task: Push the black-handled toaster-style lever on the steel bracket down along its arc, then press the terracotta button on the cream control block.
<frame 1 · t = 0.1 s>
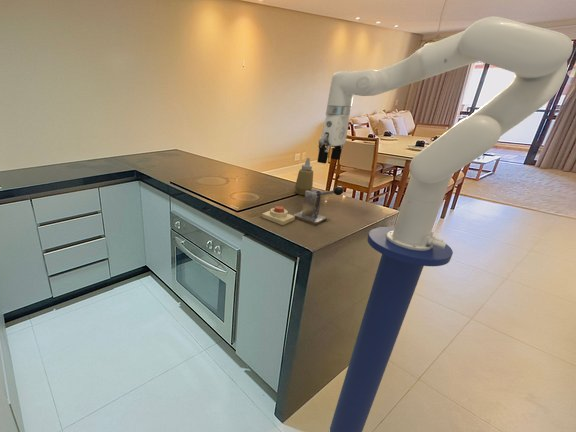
hand: (328, 160, 108), 24 cm above the counter, tool pointing down, fingers open, 9 cm apart
button: (279, 209, 117), point 4 cm above the counter, slide at 0.1 cm
control block: (277, 218, 119), on the counter
bracket: (309, 218, 119), on the counter
squeeze bottle: (302, 194, 148), on the counter
lever: (325, 193, 111), point 12 cm above the counter, hinge at 25.0°
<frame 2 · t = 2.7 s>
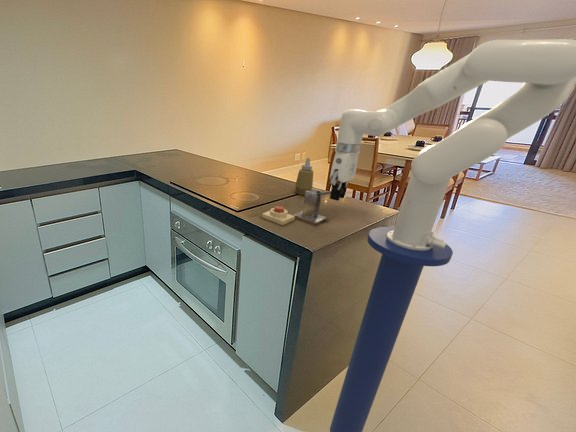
hand: (336, 197, 108), 11 cm above the counter, tool pointing down, fingers closed on lever, 3 cm apart
lever: (325, 193, 111), point 12 cm above the counter, hinge at 25.0°, touching gripper
everything else where it was.
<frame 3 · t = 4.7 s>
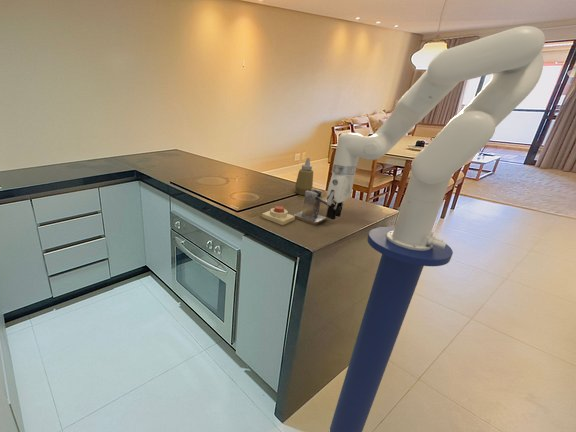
hand: (333, 216, 111), 4 cm above the counter, tool pointing down, fingers closed on lever, 3 cm apart
lever: (324, 202, 112), point 9 cm above the counter, hinge at -16.5°, touching gripper
everything else where it was.
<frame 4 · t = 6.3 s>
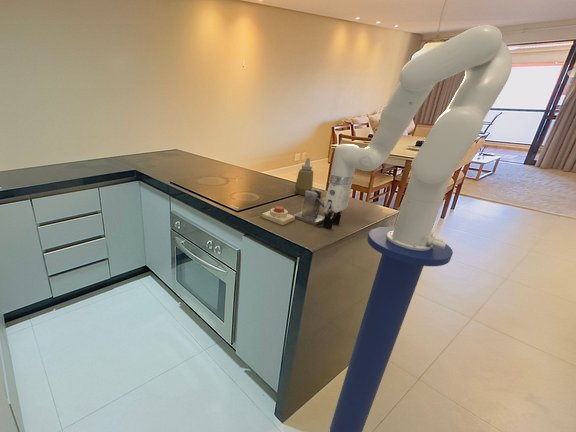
hand: (331, 225, 112), 0 cm above the counter, tool pointing down, fingers open, 5 cm apart
lever: (322, 204, 113), point 7 cm above the counter, hinge at -30.5°
everything else where it was.
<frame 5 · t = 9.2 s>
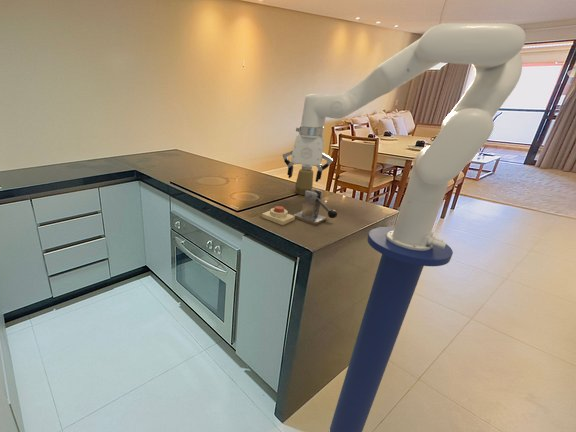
hand: (303, 179, 110), 17 cm above the counter, tool pointing down, fingers open, 9 cm apart
nothing on the counter moved.
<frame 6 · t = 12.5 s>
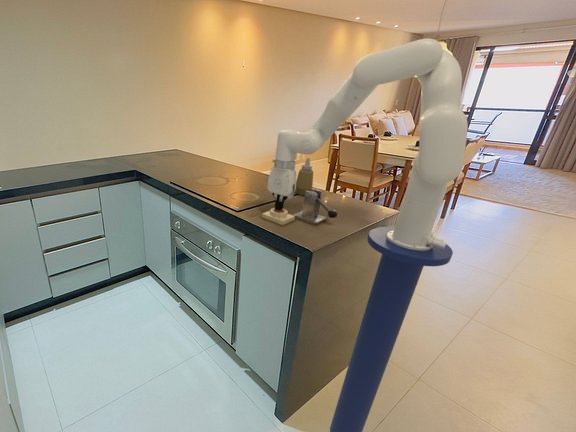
hand: (278, 209, 117), 4 cm above the counter, tool pointing down, fingers closed
button: (278, 211, 118), point 3 cm above the counter, slide at -0.8 cm, touching gripper
everything else where it was.
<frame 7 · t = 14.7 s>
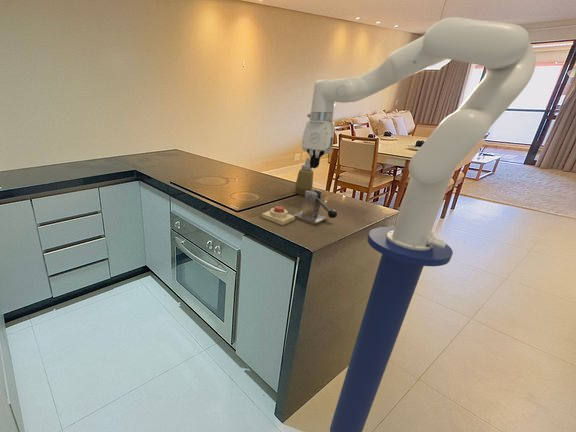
hand: (313, 167, 113), 21 cm above the counter, tool pointing down, fingers closed
button: (279, 209, 117), point 4 cm above the counter, slide at 0.1 cm
everything else where it was.
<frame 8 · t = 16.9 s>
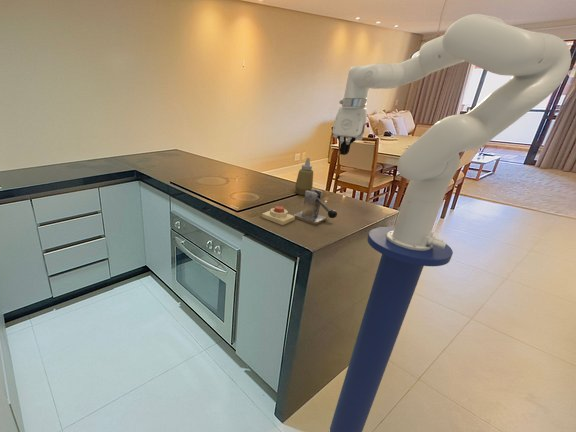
hand: (343, 154, 114), 25 cm above the counter, tool pointing down, fingers closed
nothing on the counter moved.
at the end: lever at -30° (first picture: +25°); button pushed in 1.1 cm at the most during the clip, back to where it started at the end; button slide at 0.1 cm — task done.
